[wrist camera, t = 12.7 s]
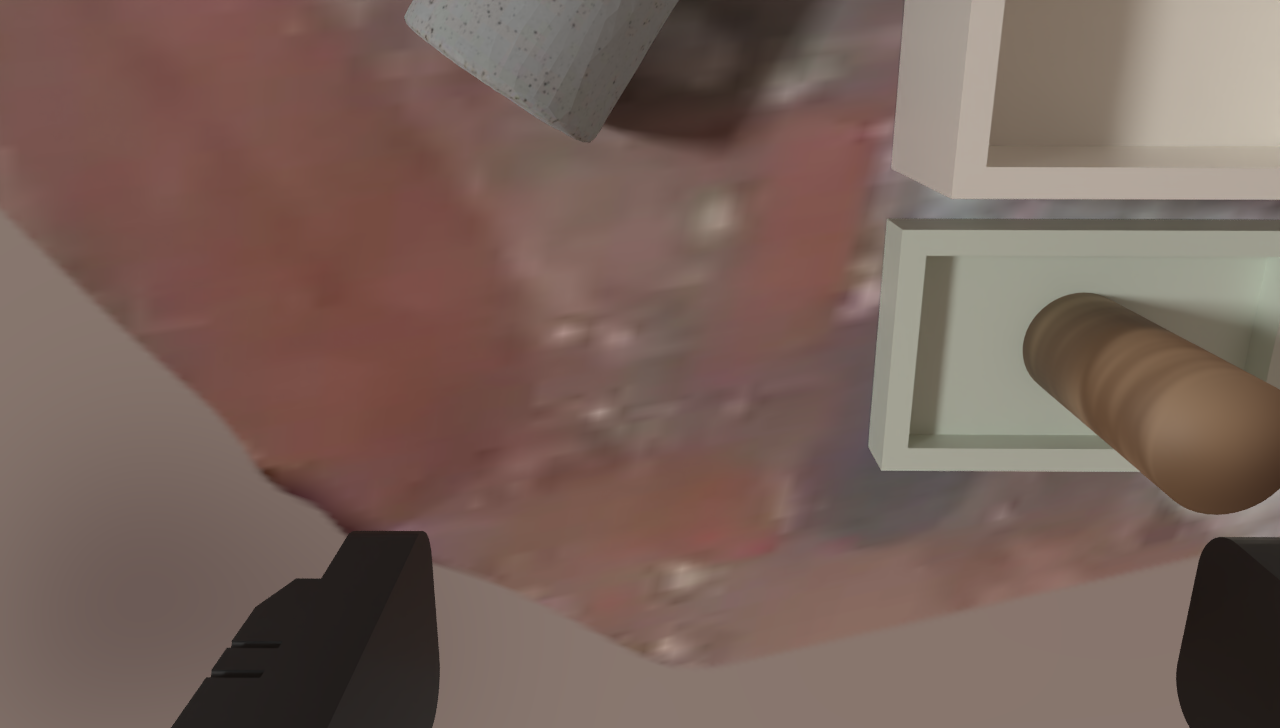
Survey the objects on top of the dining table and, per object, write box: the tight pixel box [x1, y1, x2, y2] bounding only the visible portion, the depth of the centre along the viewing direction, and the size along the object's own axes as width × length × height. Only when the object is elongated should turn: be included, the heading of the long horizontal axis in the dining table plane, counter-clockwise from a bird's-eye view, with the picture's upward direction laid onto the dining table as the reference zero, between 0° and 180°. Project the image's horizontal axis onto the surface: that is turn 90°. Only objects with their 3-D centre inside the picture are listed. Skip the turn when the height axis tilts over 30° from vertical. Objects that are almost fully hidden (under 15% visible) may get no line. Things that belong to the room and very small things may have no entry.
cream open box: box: [891, 0, 1280, 200], centre depth 33 cm, size 12×16×8 cm
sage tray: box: [868, 219, 1280, 472], centre depth 39 cm, size 10×16×2 cm, turn 90°
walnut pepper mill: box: [1023, 293, 1280, 515], centre depth 34 cm, size 4×4×11 cm
